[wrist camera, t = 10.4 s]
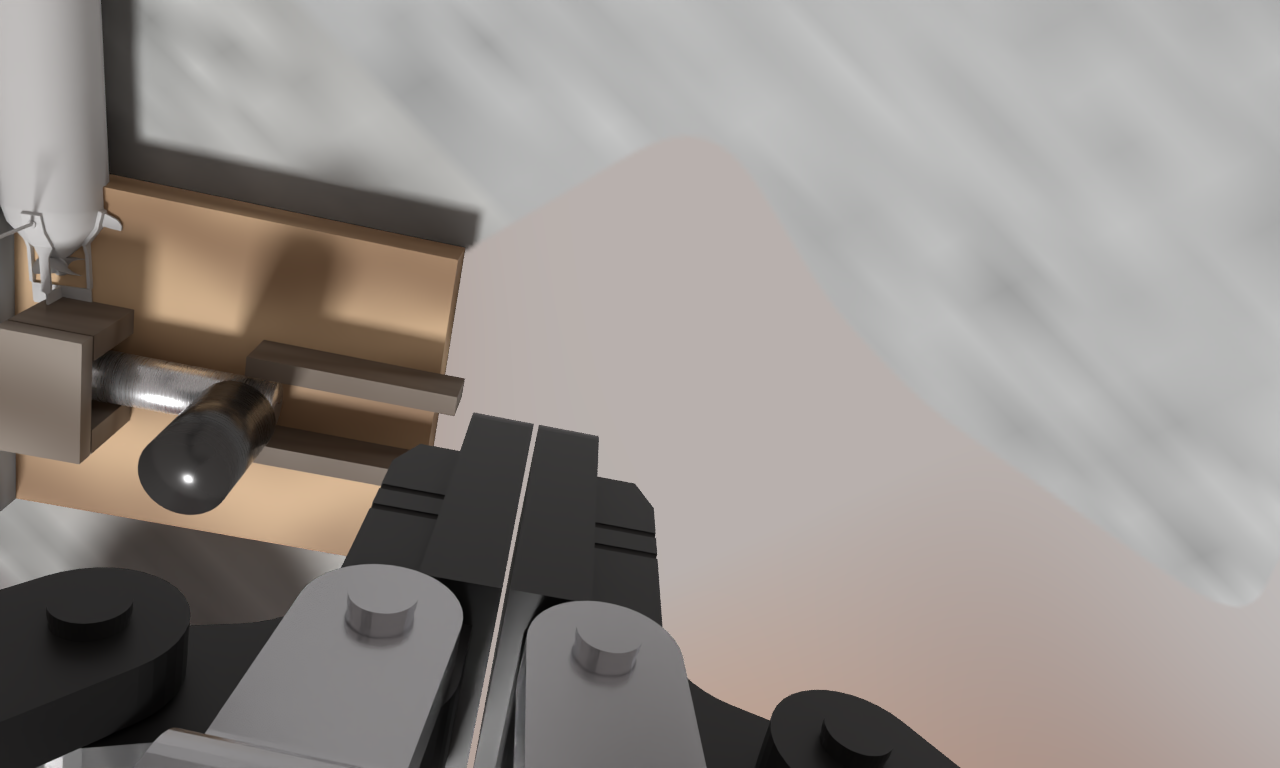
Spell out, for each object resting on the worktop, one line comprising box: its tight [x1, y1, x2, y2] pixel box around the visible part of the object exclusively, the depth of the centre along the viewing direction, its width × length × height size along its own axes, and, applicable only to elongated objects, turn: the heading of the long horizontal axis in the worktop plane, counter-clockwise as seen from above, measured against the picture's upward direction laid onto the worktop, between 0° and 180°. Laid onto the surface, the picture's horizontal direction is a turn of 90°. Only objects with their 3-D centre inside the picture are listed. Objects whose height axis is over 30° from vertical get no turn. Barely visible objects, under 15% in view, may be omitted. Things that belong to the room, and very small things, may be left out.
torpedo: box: [0, 0, 122, 305], centre depth 34 cm, size 18×5×7 cm, turn 172°
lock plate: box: [0, 174, 465, 556], centre depth 39 cm, size 14×21×6 cm, turn 78°
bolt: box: [91, 350, 283, 515], centre depth 36 cm, size 3×10×7 cm, turn 78°
